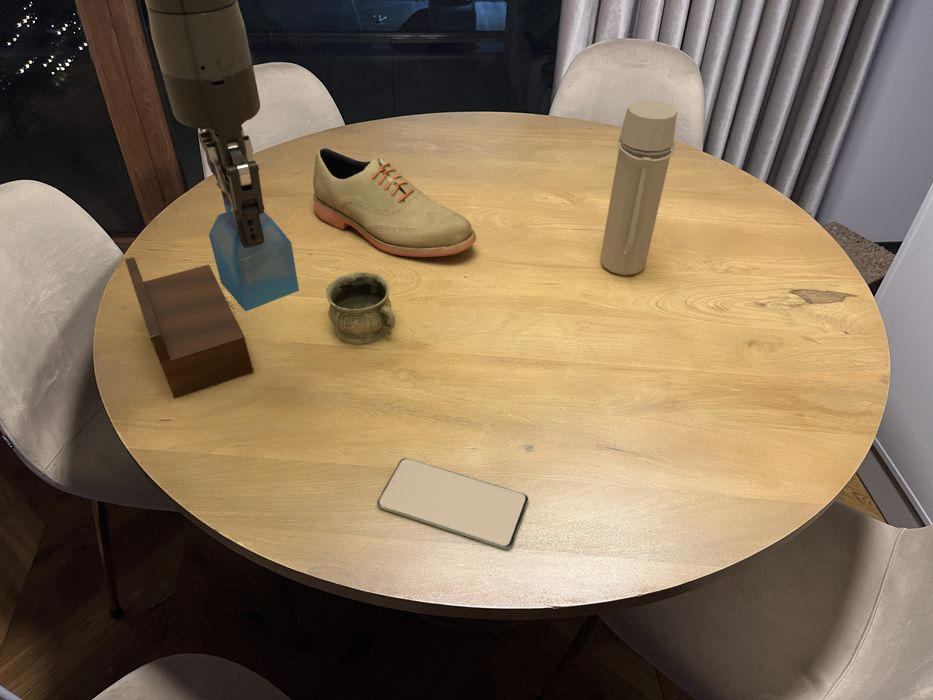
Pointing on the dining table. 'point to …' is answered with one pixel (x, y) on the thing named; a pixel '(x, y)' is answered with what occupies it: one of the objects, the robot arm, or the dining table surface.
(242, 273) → the perfume bottle
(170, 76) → the robot arm
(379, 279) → the vessel
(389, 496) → the smartphone
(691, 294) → the dining table surface
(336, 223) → the oxford shoe
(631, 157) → the water bottle
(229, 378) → the wooden display stand
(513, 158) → the dining table surface
